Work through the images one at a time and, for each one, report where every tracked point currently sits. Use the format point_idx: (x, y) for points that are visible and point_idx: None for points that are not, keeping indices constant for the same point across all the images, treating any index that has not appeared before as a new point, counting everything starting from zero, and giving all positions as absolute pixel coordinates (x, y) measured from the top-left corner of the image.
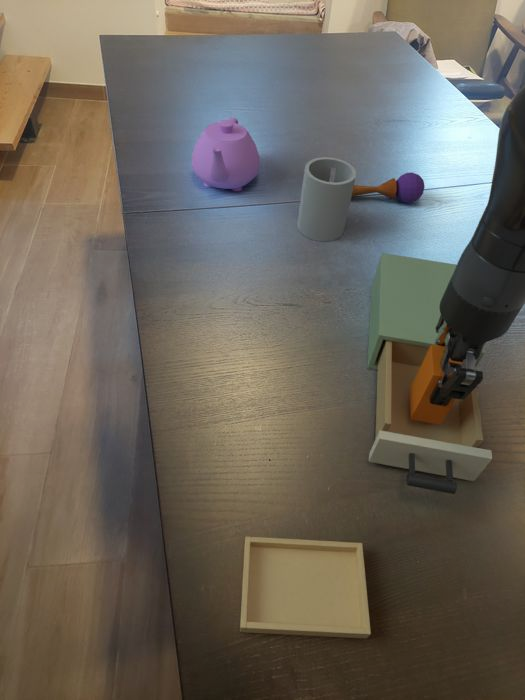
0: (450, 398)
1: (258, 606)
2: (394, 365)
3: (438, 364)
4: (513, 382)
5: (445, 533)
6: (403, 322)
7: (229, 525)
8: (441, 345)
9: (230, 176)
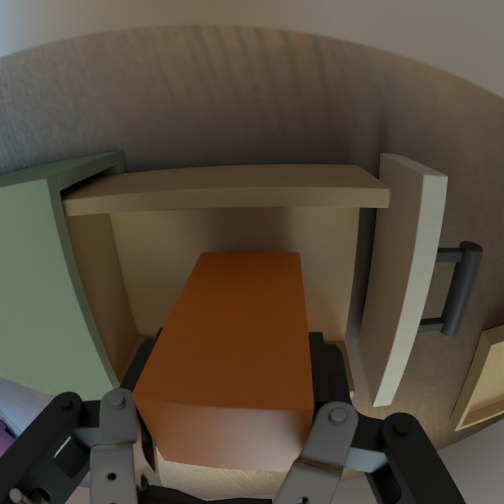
0: (346, 381)
1: (501, 395)
2: (142, 319)
3: (249, 461)
4: (85, 46)
5: (478, 215)
6: (65, 369)
7: (431, 431)
8: (151, 440)
9: (4, 447)
